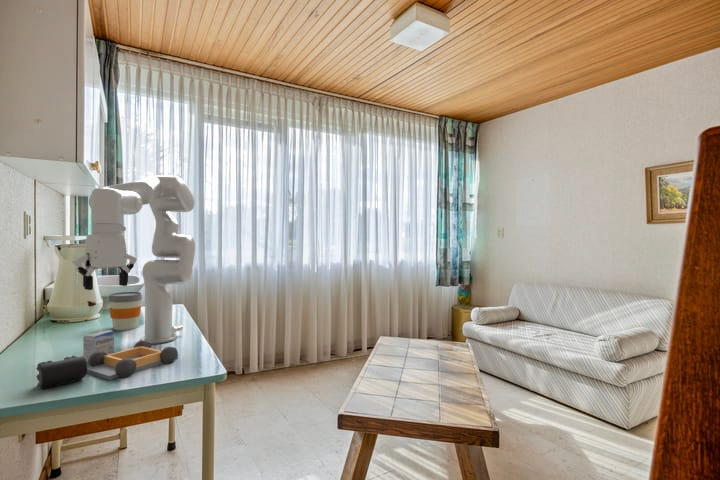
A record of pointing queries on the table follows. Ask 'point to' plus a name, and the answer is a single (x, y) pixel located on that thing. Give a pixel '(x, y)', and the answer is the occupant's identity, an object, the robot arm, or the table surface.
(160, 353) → the chassis
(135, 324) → the reusable coffee cup
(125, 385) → the table surface
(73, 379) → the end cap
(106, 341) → the medicine box
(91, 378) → the table surface
